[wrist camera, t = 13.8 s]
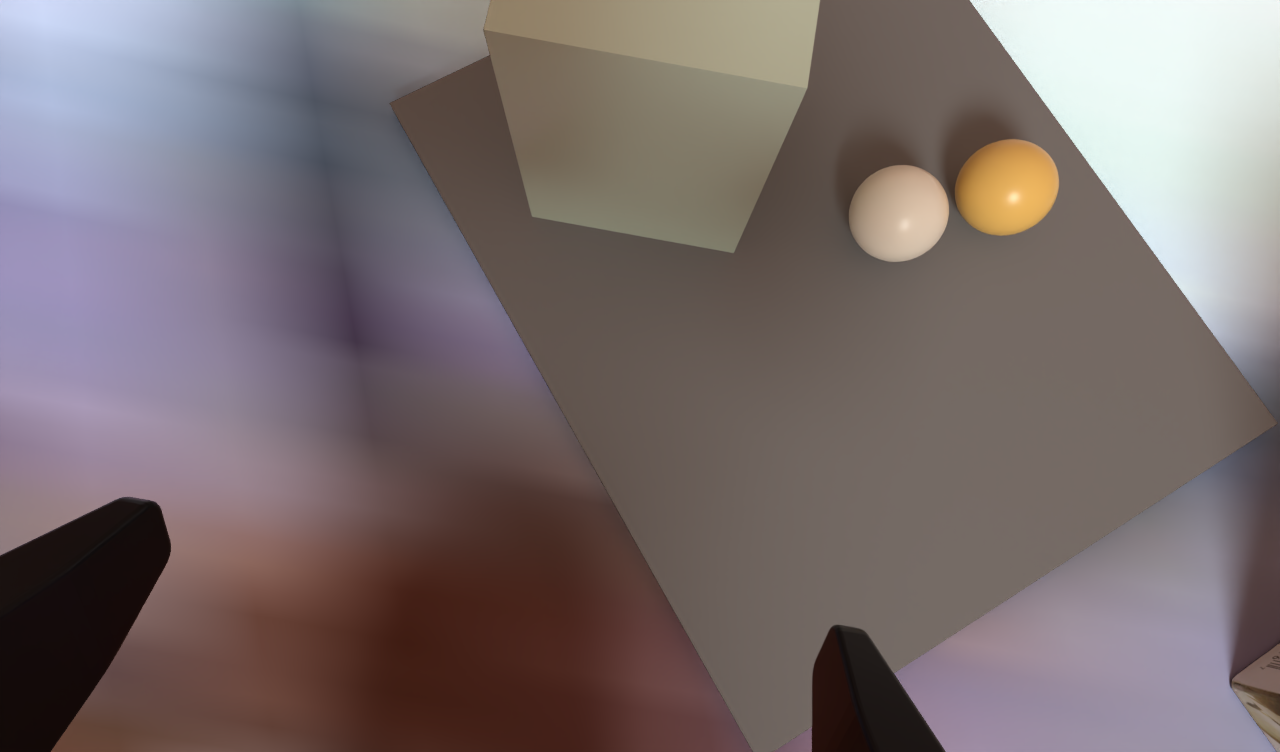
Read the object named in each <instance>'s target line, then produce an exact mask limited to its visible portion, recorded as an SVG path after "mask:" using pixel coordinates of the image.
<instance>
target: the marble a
mask: <svg viewBox="0 0 1280 752" xmlns="http://www.w3.org/2000/svg"><path fill="white" fill-rule="evenodd" d="M948 217H949V203H948V198H947V195H946V192H945V190H944V188H943V187H942V185H941V184H940V182H939V181H938V180H937V179H936V178H935V177H934V176H933V175H931V174H930V173H929V172H927V171H925V170H923V169H921V168H918V167H915V166H910V165H895V166H890V167H886V168H883V169H881V170H879V171H877V172H875V173H874V174H872V175H870V176H869V177H868V178H867V179H866V180H865V181H864V182H863V183H862V184H861V185H860V186H859V187H858V189H857V190H856V192H855V194H854V196H853V198H852V201H851V204H850V208H849V226H850V230H851V233H852V235H853V237H854V239H855V241H856V242H857V243H858V245H859V246H860V247H861V248H862V249H863V250H864V251H865V252H866V253H868V254H869V255H871V256H873V257H875V258H877V259H880V260H883V261H888V262H902V261H908V260H911V259H914V258H917V257H919V256H921V255H922V254H924V253H926V252H927V251H928V250H930V249H931V248H932V247H933V246H934V245H935V244H936V243H937V242H938V240H939V239H940V238H941V236H942V234H943V232H944V230H945V228H946V225H947V222H948Z"/></svg>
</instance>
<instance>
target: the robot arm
mask: <svg viewBox="0 0 1280 752" xmlns="http://www.w3.org/2000/svg"><path fill="white" fill-rule="evenodd" d="M170 552H171V542H170V539H169V535H168V532H167V528H166V525H165V521H164V518H163V514H162V511H161V508H160V506H159V505H158V504H157V503H156V502H154V501H150V500H144V499H139V498H133V497H123V498H119V499H117V500H114V501H112V502H110V503H108V504H106V505H104V506H102V507H100V508H98V509H96V510H94V511H91V512H89V513H87V514H85V515H83V516H81V517H79V518H77V519H75V520H73V521H71V522H69V523H67V524H65V525H63V526H60V527H58V528H56V529H54V530H52V531H50V532H48V533H46V534H44V535H42V536H40V537H38V538H36V539H34V540H32V541H29V542H27V543H25V544H23V545H21V546H19V547H17V548H15V549H13V550H11V551H9V552H7V553H5V554H3V555H1V556H0V752H51V750H52V749H53V748H54V746H55V745H56V743H57V742H58V740H59V739H60V737H61V736H62V735H63V733H64V732H65V730H66V729H67V727H68V726H69V724H70V723H71V722H72V720H73V719H74V717H75V716H76V714H77V713H78V711H79V710H80V709H81V707H82V706H83V704H84V703H85V701H86V700H87V698H88V697H89V696H90V694H91V693H92V691H93V690H94V688H95V687H96V685H97V684H98V682H99V681H100V679H101V678H102V676H103V675H104V673H105V672H106V670H107V669H108V667H109V666H110V664H111V662H112V661H113V659H114V657H115V656H116V654H117V652H118V650H119V649H120V647H121V645H122V643H123V641H124V640H125V638H126V636H127V634H128V632H129V631H130V629H131V627H132V625H133V623H134V622H135V620H136V618H137V616H138V614H139V613H140V611H141V609H142V607H143V605H144V604H145V602H146V600H147V598H148V596H149V595H150V593H151V591H152V589H153V587H154V586H155V584H156V582H157V580H158V578H159V577H160V575H161V573H162V571H163V569H164V567H165V566H166V564H167V562H168V559H169V556H170ZM812 752H945V750H944V748H943V747H942V745H941V744H940V742H939V741H938V739H937V738H936V736H935V735H934V733H933V732H932V730H931V729H930V727H929V726H928V724H927V723H926V721H925V720H924V718H923V717H922V715H921V714H920V712H919V711H918V709H917V708H916V706H915V705H914V703H913V702H912V700H911V699H910V697H909V696H908V694H907V693H906V691H905V690H904V688H903V687H902V685H901V684H900V682H899V681H898V679H897V678H896V676H895V674H894V673H893V671H892V670H891V668H890V667H889V665H888V664H887V662H886V661H885V659H884V658H883V656H882V655H881V653H880V652H879V650H878V649H877V647H876V646H875V644H874V643H873V641H872V640H871V638H870V637H869V635H868V634H867V633H866V632H865V631H864V630H862V629H860V628H856V627H850V626H844V625H839V624H837V625H833V626H832V627H831V628H830V630H829V631H828V634H827V636H826V638H825V640H824V642H823V645H822V647H821V649H820V651H819V653H818V655H817V658H816V660H815V663H814V667H813V674H812Z"/></svg>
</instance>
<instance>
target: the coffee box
mask: <svg viewBox="0 0 1280 752" xmlns="http://www.w3.org/2000/svg"><path fill="white" fill-rule="evenodd" d="M1231 686H1232V689H1233V691H1234V692H1235V694H1236V695H1237V696H1238V698H1239V699H1240V701H1241V702H1242V704H1243V705H1244V706H1245V708H1246V709H1247V711H1248V712H1249V713H1250V715H1251V716H1252V718H1253V719H1254V720H1255V722H1256V723H1257V725H1258V726H1259V727H1260V729H1261V730H1262V732H1263V733H1264V734H1265V736H1266V737H1267V739H1268V740H1269V741H1270V743H1271V744H1272V746H1273V747H1274V748H1275V750H1276V751H1277V752H1280V643H1279V644H1278V645H1276V646H1275V647H1274V648H1273V649H1271V650H1270V651H1269V652H1267V653H1266V654H1264V655H1263V656H1261V657H1260V658H1259V659H1257V660H1256V661H1255V662H1253V663H1252V664H1251V665H1249V666H1248V667H1247V668H1245V669H1244V670H1243V671H1241V672H1240V673H1239V674H1237V675H1236V676H1235V677H1234V678H1233V679H1232V685H1231Z"/></svg>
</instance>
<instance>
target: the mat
mask: <svg viewBox="0 0 1280 752" xmlns="http://www.w3.org/2000/svg"><path fill="white" fill-rule="evenodd" d="M390 105H391V107H392V109H393V111H394V113H395V114H396V116H397V118H398V120H399V122H400V123H401V125H402V127H403V129H404V130H405V132H406V134H407V136H408V138H409V139H410V141H411V143H412V145H413V147H414V148H415V150H416V152H417V154H418V155H419V157H420V159H421V161H422V163H423V164H424V166H425V168H426V170H427V172H428V173H429V175H430V177H431V179H432V180H433V182H434V184H435V186H436V188H437V189H438V191H439V193H440V195H441V196H442V198H443V200H444V202H445V204H446V205H447V207H448V209H449V211H450V213H451V214H452V216H453V218H454V220H455V221H456V223H457V225H458V227H459V229H460V230H461V232H462V234H463V236H464V238H465V239H466V241H467V243H468V245H469V246H470V248H471V250H472V252H473V254H474V255H475V257H476V259H477V261H478V262H479V264H480V266H481V268H482V270H483V271H484V273H485V275H486V277H487V279H488V280H489V282H490V284H491V286H492V287H493V289H494V291H495V293H496V295H497V296H498V298H499V300H500V302H501V303H502V305H503V307H504V309H505V311H506V312H507V314H508V316H509V318H510V320H511V321H512V323H513V325H514V327H515V328H516V330H517V332H518V334H519V336H520V337H521V339H522V341H523V343H524V345H525V346H526V348H527V350H528V352H529V353H530V355H531V357H532V359H533V361H534V362H535V364H536V366H537V368H538V369H539V371H540V373H541V375H542V377H543V378H544V380H545V382H546V384H547V386H548V387H549V389H550V391H551V393H552V394H553V396H554V398H555V400H556V402H557V403H558V405H559V407H560V409H561V411H562V412H563V414H564V416H565V418H566V419H567V421H568V423H569V425H570V427H571V428H572V430H573V432H574V434H575V435H576V437H577V439H578V441H579V443H580V444H581V446H582V448H583V450H584V452H585V453H586V455H587V457H588V459H589V460H590V462H591V464H592V466H593V468H594V469H595V471H596V473H597V475H598V477H599V478H600V480H601V482H602V484H603V485H604V487H605V489H606V491H607V493H608V494H609V496H610V498H611V500H612V501H613V503H614V505H615V507H616V509H617V510H618V512H619V514H620V516H621V518H622V519H623V521H624V523H625V525H626V526H627V528H628V530H629V532H630V534H631V535H632V537H633V539H634V541H635V542H636V544H637V546H638V548H639V550H640V551H641V553H642V555H643V557H644V559H645V560H646V562H647V564H648V566H649V567H650V569H651V571H652V573H653V575H654V576H655V578H656V580H657V582H658V584H659V585H660V587H661V589H662V591H663V592H664V594H665V596H666V598H667V600H668V601H669V603H670V605H671V607H672V608H673V610H674V612H675V614H676V616H677V617H678V619H679V621H680V623H681V625H682V626H683V628H684V630H685V632H686V633H687V635H688V637H689V639H690V641H691V642H692V644H693V646H694V648H695V650H696V651H697V653H698V655H699V657H700V658H701V660H702V662H703V664H704V666H705V667H706V669H707V671H708V673H709V674H710V676H711V678H712V680H713V682H714V683H715V685H716V687H717V689H718V691H719V692H720V694H721V696H722V698H723V699H724V701H725V703H726V705H727V707H728V708H729V710H730V712H731V714H732V715H733V717H734V719H735V721H736V723H737V724H738V726H739V728H740V730H741V732H742V733H743V735H744V737H745V739H746V740H747V742H748V744H749V746H750V748H751V749H752V751H753V752H774V751H775V750H777V749H778V748H780V747H781V746H783V745H784V744H786V743H787V742H789V741H791V740H792V739H794V738H795V737H797V736H798V735H800V734H801V733H803V732H804V731H806V730H807V729H809V728H811V727H812V674H813V667H814V663H815V660H816V658H817V655H818V653H819V651H820V649H821V647H822V645H823V642H824V640H825V638H826V636H827V634H828V631H829V630H830V628H831V627H832V626H833V625H837V624H839V625H844V626H850V627H856V628H860V629H862V630H864V631H865V632H866V633H867V634H868V635H869V637H870V638H871V640H872V641H873V643H874V644H875V646H876V647H877V649H878V650H879V652H880V653H881V655H882V656H883V658H884V659H885V661H886V662H887V664H888V665H889V667H890V668H891V670H892V671H893V673H895V672H897V671H898V670H900V669H901V668H903V667H904V666H906V665H907V664H909V663H911V662H912V661H914V660H915V659H917V658H918V657H920V656H921V655H923V654H924V653H926V652H927V651H929V650H930V649H932V648H934V647H935V646H937V645H938V644H940V643H941V642H943V641H944V640H946V639H947V638H949V637H950V636H952V635H954V634H955V633H957V632H958V631H960V630H961V629H963V628H964V627H966V626H967V625H969V624H970V623H972V622H974V621H975V620H977V619H978V618H980V617H981V616H983V615H984V614H986V613H987V612H989V611H990V610H992V609H994V608H995V607H997V606H998V605H1000V604H1001V603H1003V602H1004V601H1006V600H1007V599H1009V598H1010V597H1012V596H1014V595H1015V594H1017V593H1018V592H1020V591H1021V590H1023V589H1024V588H1026V587H1027V586H1029V585H1030V584H1032V583H1034V582H1035V581H1037V580H1038V579H1040V578H1041V577H1043V576H1044V575H1046V574H1047V573H1049V572H1050V571H1052V570H1054V569H1055V568H1057V567H1058V566H1060V565H1061V564H1063V563H1064V562H1066V561H1067V560H1069V559H1070V558H1072V557H1073V556H1075V555H1077V554H1078V553H1080V552H1081V551H1083V550H1084V549H1086V548H1087V547H1089V546H1090V545H1092V544H1093V543H1095V542H1097V541H1098V540H1100V539H1101V538H1103V537H1104V536H1106V535H1107V534H1109V533H1110V532H1112V531H1113V530H1115V529H1117V528H1118V527H1120V526H1121V525H1123V524H1124V523H1126V522H1127V521H1129V520H1130V519H1132V518H1133V517H1135V516H1137V515H1138V514H1140V513H1141V512H1143V511H1144V510H1146V509H1147V508H1149V507H1150V506H1152V505H1153V504H1155V503H1157V502H1158V501H1160V500H1161V499H1163V498H1164V497H1166V496H1167V495H1169V494H1170V493H1172V492H1173V491H1175V490H1177V489H1178V488H1180V487H1181V486H1183V485H1184V484H1186V483H1187V482H1189V481H1190V480H1192V479H1193V478H1195V477H1197V476H1198V475H1200V474H1201V473H1203V472H1204V471H1206V470H1207V469H1209V468H1210V467H1212V466H1213V465H1215V464H1216V463H1218V462H1220V461H1221V460H1223V459H1224V458H1226V457H1227V456H1229V455H1230V454H1232V453H1233V452H1235V451H1236V450H1238V449H1240V448H1241V447H1243V446H1244V445H1246V444H1247V443H1249V442H1250V441H1252V440H1253V439H1255V438H1256V437H1258V436H1260V435H1261V434H1263V433H1264V432H1266V431H1267V430H1269V429H1270V428H1272V427H1273V426H1275V425H1276V424H1278V423H1277V422H1276V420H1275V419H1274V417H1273V416H1272V415H1271V413H1270V412H1269V411H1268V409H1267V408H1266V407H1265V405H1264V404H1263V402H1262V401H1261V400H1260V398H1259V397H1258V396H1257V394H1256V393H1255V391H1254V390H1253V389H1252V387H1251V386H1250V385H1249V383H1248V382H1247V380H1246V379H1245V378H1244V376H1243V375H1242V374H1241V372H1240V371H1239V369H1238V368H1237V367H1236V365H1235V364H1234V363H1233V361H1232V360H1231V359H1230V357H1229V356H1228V354H1227V353H1226V352H1225V350H1224V349H1223V348H1222V346H1221V345H1220V343H1219V342H1218V341H1217V339H1216V338H1215V337H1214V335H1213V334H1212V332H1211V331H1210V330H1209V328H1208V327H1207V326H1206V324H1205V323H1204V321H1203V320H1202V319H1201V317H1200V316H1199V315H1198V313H1197V312H1196V311H1195V309H1194V308H1193V306H1192V305H1191V304H1190V302H1189V301H1188V300H1187V298H1186V297H1185V295H1184V294H1183V293H1182V291H1181V290H1180V289H1179V287H1178V286H1177V284H1176V283H1175V282H1174V280H1173V279H1172V278H1171V276H1170V275H1169V273H1168V272H1167V271H1166V269H1165V268H1164V267H1163V265H1162V264H1161V263H1160V261H1159V260H1158V258H1157V257H1156V256H1155V254H1154V253H1153V252H1152V250H1151V249H1150V247H1149V246H1148V245H1147V243H1146V242H1145V241H1144V239H1143V238H1142V236H1141V235H1140V234H1139V232H1138V231H1137V230H1136V228H1135V227H1134V225H1133V224H1132V223H1131V221H1130V220H1129V219H1128V217H1127V216H1126V215H1125V213H1124V212H1123V210H1122V209H1121V208H1120V206H1119V205H1118V204H1117V202H1116V201H1115V199H1114V198H1113V197H1112V195H1111V194H1110V193H1109V191H1108V190H1107V188H1106V187H1105V186H1104V184H1103V183H1102V182H1101V180H1100V179H1099V177H1098V176H1097V175H1096V173H1095V172H1094V171H1093V169H1092V168H1091V167H1090V165H1089V164H1088V162H1087V161H1086V160H1085V158H1084V157H1083V156H1082V154H1081V153H1080V151H1079V150H1078V149H1077V147H1076V146H1075V145H1074V143H1073V142H1072V140H1071V139H1070V138H1069V136H1068V135H1067V134H1066V132H1065V131H1064V129H1063V128H1062V127H1061V125H1060V124H1059V123H1058V121H1057V120H1056V118H1055V117H1054V116H1053V114H1052V113H1051V112H1050V110H1049V109H1048V108H1047V106H1046V105H1045V103H1044V102H1043V101H1042V99H1041V98H1040V97H1039V95H1038V94H1037V92H1036V91H1035V90H1034V88H1033V87H1032V86H1031V84H1030V83H1029V81H1028V80H1027V79H1026V77H1025V76H1024V75H1023V73H1022V72H1021V70H1020V69H1019V68H1018V66H1017V65H1016V64H1015V62H1014V61H1013V60H1012V58H1011V57H1010V55H1009V54H1008V53H1007V51H1006V50H1005V49H1004V47H1003V46H1002V44H1001V43H1000V42H999V40H998V39H997V38H996V36H995V35H994V33H993V32H992V31H991V29H990V28H989V27H988V25H987V24H986V22H985V21H984V20H983V18H982V17H981V16H980V14H979V13H978V12H977V10H976V9H975V7H974V6H973V5H972V3H971V2H970V1H969V0H820V4H819V11H818V18H817V25H816V32H815V39H814V46H813V53H812V60H811V66H810V73H809V80H808V87H807V90H806V92H805V95H804V97H803V99H802V101H801V104H800V106H799V108H798V110H797V113H796V115H795V117H794V119H793V121H792V124H791V126H790V128H789V130H788V133H787V135H786V137H785V139H784V142H783V144H782V146H781V148H780V151H779V153H778V155H777V157H776V160H775V162H774V164H773V166H772V168H771V171H770V173H769V175H768V177H767V180H766V182H765V184H764V186H763V189H762V191H761V193H760V195H759V198H758V200H757V202H756V204H755V207H754V209H753V211H752V213H751V215H750V218H749V220H748V222H747V224H746V227H745V229H744V231H743V233H742V236H741V238H740V240H739V242H738V245H737V247H736V249H735V251H734V253H730V252H725V251H719V250H714V249H708V248H703V247H697V246H692V245H686V244H681V243H675V242H670V241H664V240H658V239H653V238H647V237H642V236H636V235H631V234H625V233H620V232H614V231H609V230H603V229H598V228H592V227H587V226H581V225H575V224H570V223H564V222H559V221H553V220H548V219H542V218H537V217H532V215H531V211H530V207H529V203H528V199H527V195H526V192H525V188H524V184H523V180H522V176H521V172H520V169H519V165H518V161H517V157H516V153H515V149H514V145H513V142H512V138H511V134H510V130H509V126H508V122H507V119H506V115H505V111H504V107H503V103H502V99H501V95H500V92H499V88H498V84H497V80H496V76H495V72H494V69H493V65H492V61H491V57H490V55H489V56H487V57H485V58H483V59H481V60H479V61H477V62H475V63H473V64H470V65H468V66H466V67H464V68H462V69H460V70H458V71H456V72H454V73H452V74H450V75H447V76H445V77H443V78H441V79H439V80H437V81H435V82H433V83H431V84H429V85H427V86H424V87H422V88H420V89H418V90H416V91H414V92H412V93H410V94H408V95H406V96H404V97H402V98H399V99H397V100H395V101H393V102H391V103H390ZM1007 139H1019V140H1024V141H1028V142H1031V143H1033V144H1036V145H1037V146H1039V147H1041V148H1042V149H1043V150H1045V151H1046V152H1047V153H1048V154H1049V156H1050V157H1051V158H1052V160H1053V161H1054V163H1055V165H1056V168H1057V171H1058V176H1059V189H1058V194H1057V197H1056V200H1055V202H1054V204H1053V206H1052V208H1051V209H1050V211H1049V212H1048V213H1047V215H1046V216H1045V217H1044V218H1043V219H1042V220H1041V221H1039V222H1038V223H1037V224H1036V225H1034V226H1033V227H1031V228H1029V229H1027V230H1025V231H1023V232H1020V233H1017V234H1013V235H1005V236H997V235H990V234H986V233H983V232H981V231H979V230H977V229H975V228H973V227H972V226H971V225H969V224H968V223H967V222H966V221H965V219H964V218H963V217H962V216H961V214H960V212H959V210H958V208H957V205H956V201H955V184H956V180H957V177H958V175H959V172H960V170H961V168H962V167H963V165H964V164H965V162H966V161H967V160H968V159H969V158H970V157H971V156H972V155H973V154H974V153H975V152H977V151H978V150H979V149H981V148H983V147H984V146H986V145H988V144H990V143H993V142H997V141H1000V140H1007ZM895 165H910V166H915V167H918V168H921V169H923V170H925V171H927V172H929V173H930V174H931V175H933V176H934V177H935V178H936V179H937V180H938V181H939V182H940V184H941V185H942V187H943V188H944V190H945V192H946V195H947V198H948V203H949V217H948V222H947V225H946V228H945V230H944V232H943V234H942V236H941V238H940V239H939V240H938V242H937V243H936V244H935V245H934V246H933V247H932V248H931V249H930V250H928V251H927V252H926V253H924V254H922V255H921V256H919V257H917V258H914V259H911V260H908V261H902V262H888V261H883V260H880V259H877V258H875V257H873V256H871V255H869V254H868V253H866V252H865V251H864V250H863V249H862V248H861V247H860V246H859V245H858V243H857V242H856V241H855V239H854V237H853V235H852V233H851V230H850V226H849V208H850V204H851V201H852V198H853V196H854V194H855V192H856V190H857V189H858V187H859V186H860V185H861V184H862V183H863V182H864V181H865V180H866V179H867V178H868V177H869V176H870V175H872V174H874V173H875V172H877V171H879V170H881V169H883V168H886V167H890V166H895Z"/></svg>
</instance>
